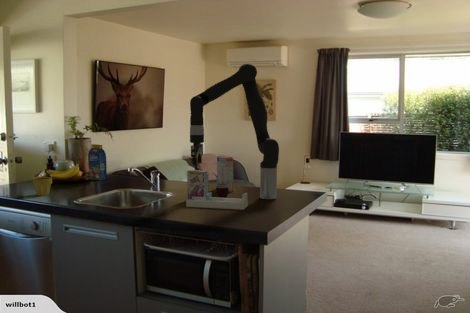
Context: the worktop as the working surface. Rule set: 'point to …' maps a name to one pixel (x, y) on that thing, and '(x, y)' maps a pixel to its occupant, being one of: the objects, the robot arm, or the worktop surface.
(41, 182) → the plant pot
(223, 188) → the mate gourd
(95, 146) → the blue food package
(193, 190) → the candy bar box
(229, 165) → the cracker box
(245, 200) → the pusher lane
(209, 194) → the pusher paddle
